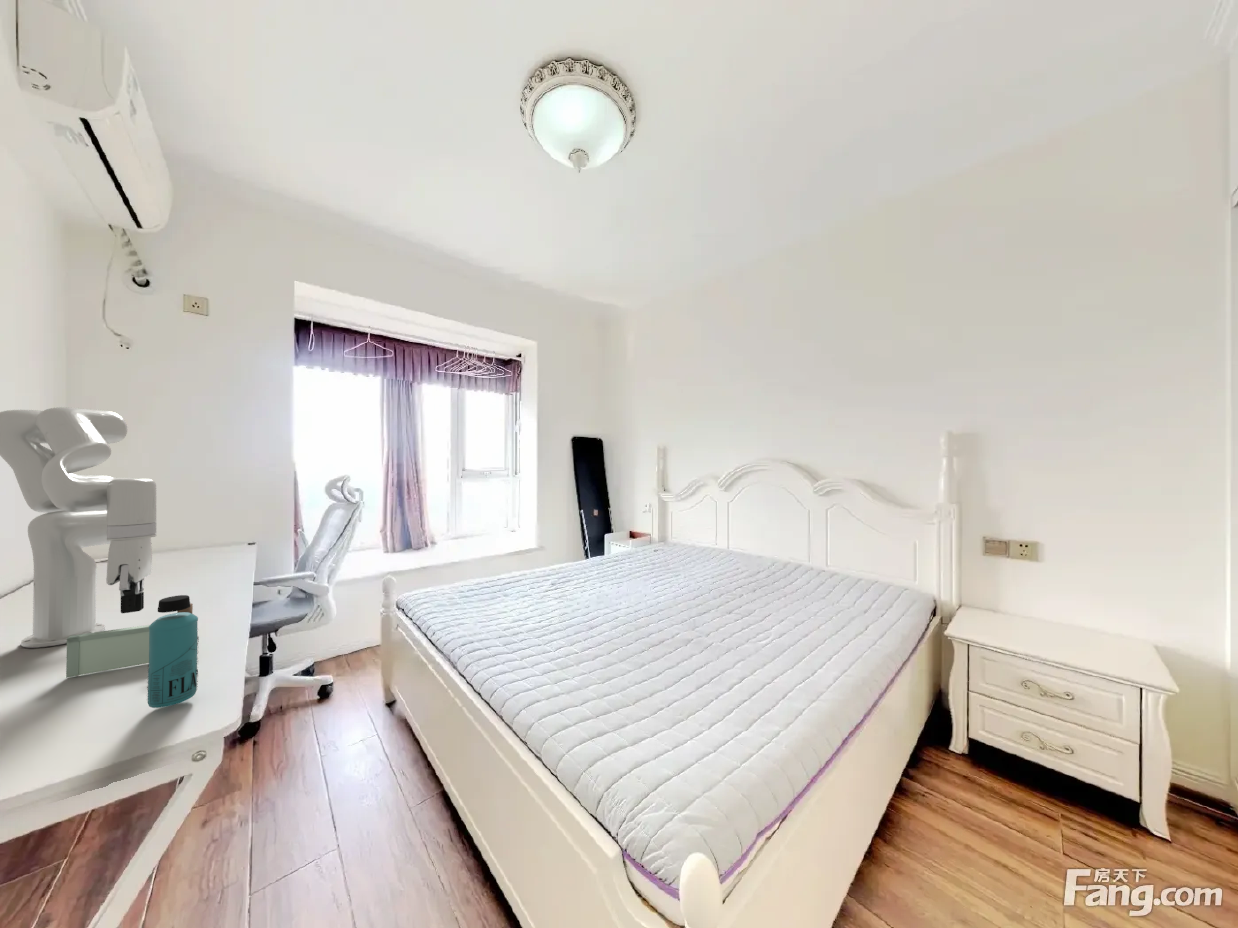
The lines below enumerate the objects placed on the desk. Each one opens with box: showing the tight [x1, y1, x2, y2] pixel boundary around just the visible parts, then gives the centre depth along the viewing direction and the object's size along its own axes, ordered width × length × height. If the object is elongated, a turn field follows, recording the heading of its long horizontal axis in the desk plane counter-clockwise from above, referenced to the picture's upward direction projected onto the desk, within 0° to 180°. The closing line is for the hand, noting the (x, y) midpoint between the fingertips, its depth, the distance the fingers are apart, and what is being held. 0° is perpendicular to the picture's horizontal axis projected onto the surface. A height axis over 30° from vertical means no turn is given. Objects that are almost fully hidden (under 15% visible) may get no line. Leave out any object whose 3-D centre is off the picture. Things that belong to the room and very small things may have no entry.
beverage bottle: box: [146, 594, 200, 709], centre depth 77 cm, size 6×7×20 cm
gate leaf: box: [65, 624, 151, 678], centre depth 90 cm, size 14×2×8 cm, turn 125°
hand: (132, 611), depth 97 cm, fingers closed
